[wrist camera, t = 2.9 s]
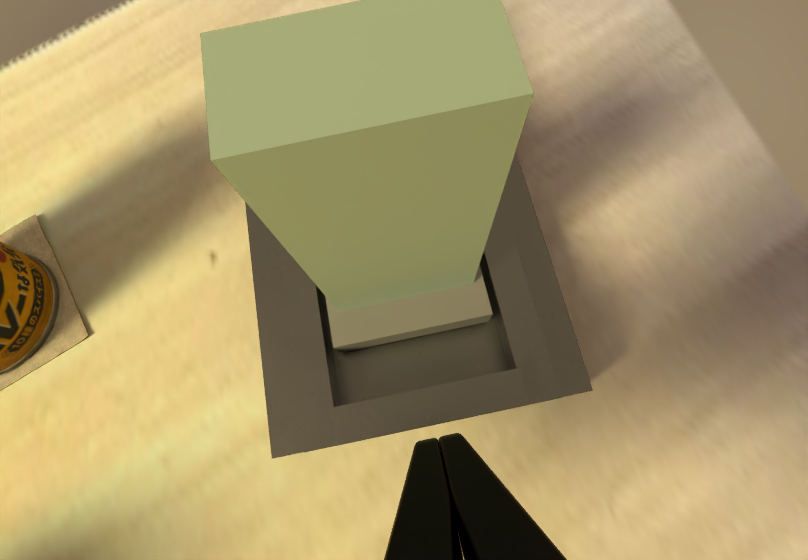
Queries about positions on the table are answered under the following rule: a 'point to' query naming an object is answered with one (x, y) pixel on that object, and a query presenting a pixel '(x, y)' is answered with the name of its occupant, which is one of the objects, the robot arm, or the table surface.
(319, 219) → the fader tab
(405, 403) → the rail
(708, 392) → the table surface
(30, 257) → the condiment
